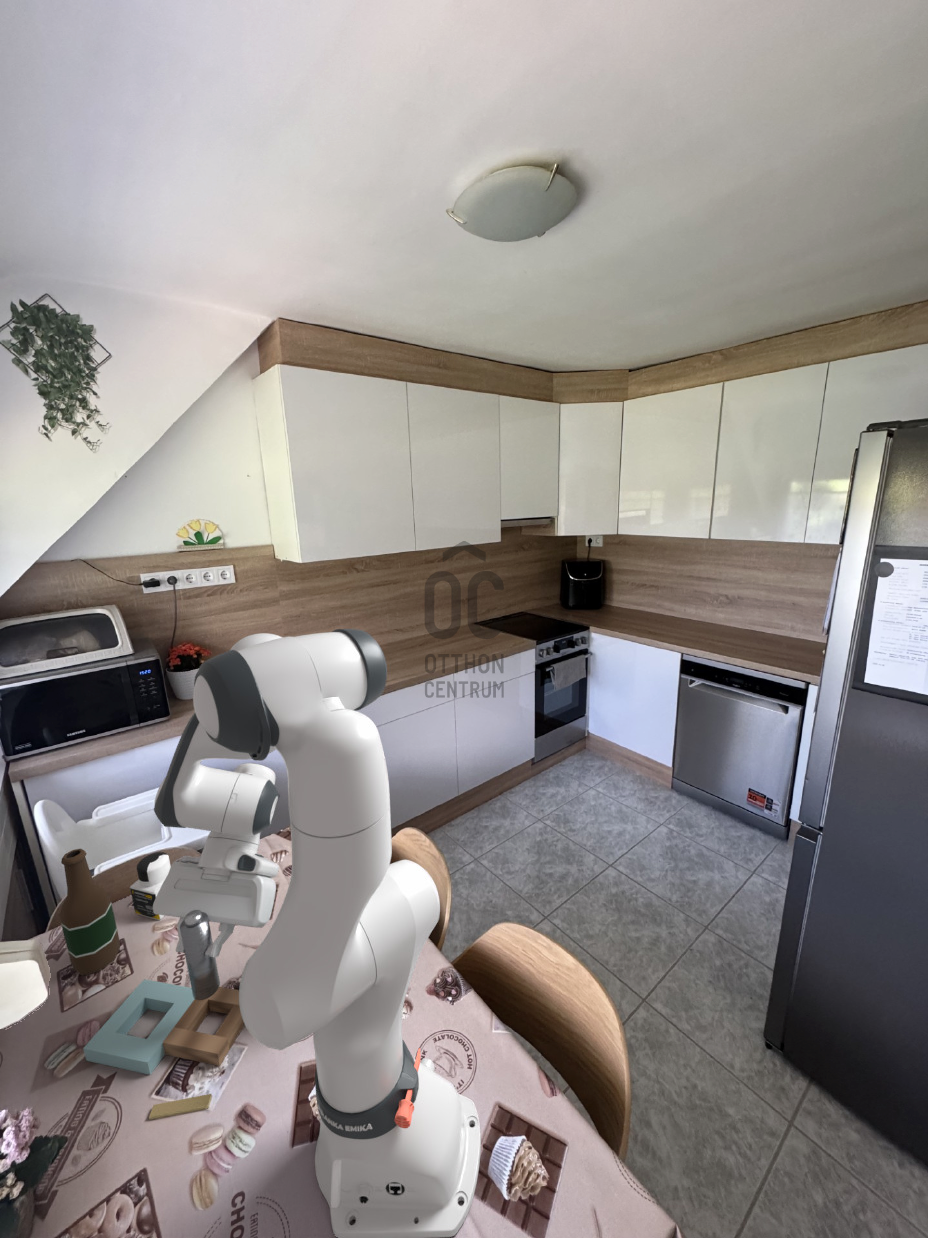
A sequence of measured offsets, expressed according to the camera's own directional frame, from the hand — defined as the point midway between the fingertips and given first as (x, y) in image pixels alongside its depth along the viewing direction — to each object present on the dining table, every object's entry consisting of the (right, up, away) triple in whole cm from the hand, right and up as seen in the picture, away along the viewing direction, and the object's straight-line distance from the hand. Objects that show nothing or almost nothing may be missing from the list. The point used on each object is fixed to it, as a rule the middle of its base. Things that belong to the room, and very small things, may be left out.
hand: (196, 954), depth 79 cm
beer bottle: (-30, -14, +18) cm, 37 cm away
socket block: (0, -16, +4) cm, 16 cm away
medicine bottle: (-25, -10, +31) cm, 41 cm away
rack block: (-11, -16, +5) cm, 20 cm away
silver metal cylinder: (0, -7, +2) cm, 7 cm away
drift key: (+1, -19, -7) cm, 20 cm away
